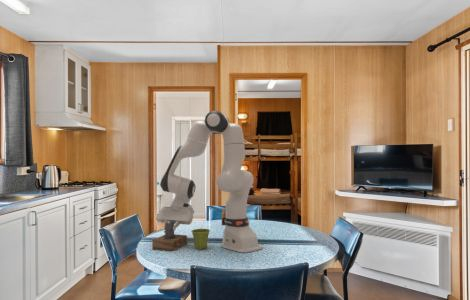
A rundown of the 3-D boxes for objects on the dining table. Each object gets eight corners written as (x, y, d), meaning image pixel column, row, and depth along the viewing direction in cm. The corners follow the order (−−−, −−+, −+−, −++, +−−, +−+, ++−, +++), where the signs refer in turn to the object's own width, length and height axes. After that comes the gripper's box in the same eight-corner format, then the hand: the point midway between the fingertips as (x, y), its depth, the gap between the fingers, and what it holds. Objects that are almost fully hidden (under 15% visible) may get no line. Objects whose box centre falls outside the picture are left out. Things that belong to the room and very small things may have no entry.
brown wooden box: (167, 242, 176) (167, 233, 176) (186, 244, 172) (186, 235, 172) (152, 249, 163) (152, 240, 163) (173, 251, 159) (173, 241, 159)
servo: (170, 236, 171) (170, 219, 171) (175, 236, 170) (175, 220, 170) (163, 239, 165) (163, 222, 165) (168, 239, 164) (169, 222, 164)
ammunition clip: (222, 225, 219) (222, 207, 219) (221, 224, 221) (221, 207, 221) (237, 224, 222) (237, 206, 223) (236, 223, 224) (236, 206, 224)
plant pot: (192, 250, 159) (192, 233, 160) (190, 245, 168) (190, 229, 169) (211, 249, 162) (211, 231, 162) (208, 244, 171) (208, 228, 171)
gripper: (159, 203, 178) (149, 224, 169) (193, 205, 171) (184, 227, 162) (164, 209, 182) (154, 231, 173) (197, 212, 175) (188, 234, 166)
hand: (169, 229), depth 167 cm, fingers closed on servo, 3 cm apart
